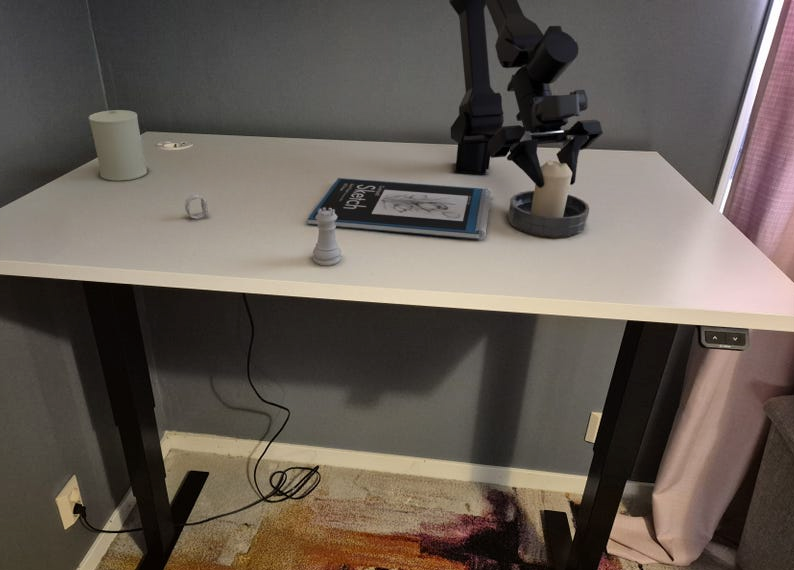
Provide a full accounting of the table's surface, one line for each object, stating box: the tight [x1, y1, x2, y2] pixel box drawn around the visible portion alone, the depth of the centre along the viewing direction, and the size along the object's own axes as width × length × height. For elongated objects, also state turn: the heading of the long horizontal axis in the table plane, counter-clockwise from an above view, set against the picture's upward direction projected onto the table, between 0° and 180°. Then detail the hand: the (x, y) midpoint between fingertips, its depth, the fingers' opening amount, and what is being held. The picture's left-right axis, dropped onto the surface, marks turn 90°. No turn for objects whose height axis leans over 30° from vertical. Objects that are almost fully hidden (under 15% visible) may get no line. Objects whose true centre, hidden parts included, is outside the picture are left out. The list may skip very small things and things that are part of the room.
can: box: [88, 109, 148, 182], centre depth 128 cm, size 9×9×12 cm
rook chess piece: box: [312, 208, 342, 267], centre depth 96 cm, size 4×4×8 cm
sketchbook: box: [307, 177, 492, 241], centre depth 115 cm, size 22×30×2 cm
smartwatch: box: [184, 194, 209, 220], centre depth 111 cm, size 4×2×4 cm, turn 118°
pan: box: [507, 190, 590, 238], centre depth 110 cm, size 13×13×4 cm
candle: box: [530, 159, 572, 217], centre depth 108 cm, size 6×6×10 cm
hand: (557, 185), depth 106 cm, fingers closed on candle, 5 cm apart
